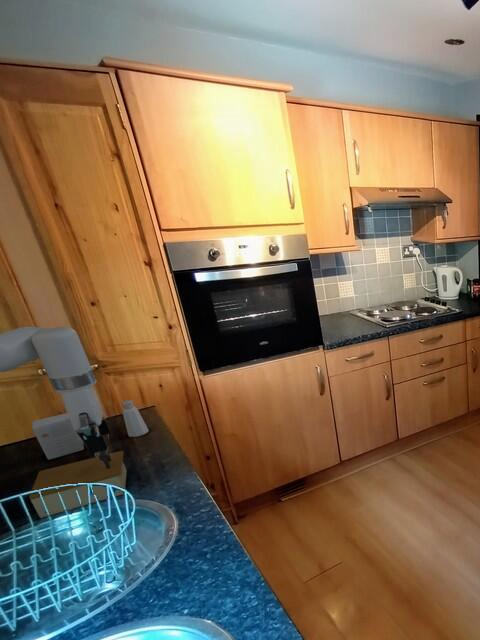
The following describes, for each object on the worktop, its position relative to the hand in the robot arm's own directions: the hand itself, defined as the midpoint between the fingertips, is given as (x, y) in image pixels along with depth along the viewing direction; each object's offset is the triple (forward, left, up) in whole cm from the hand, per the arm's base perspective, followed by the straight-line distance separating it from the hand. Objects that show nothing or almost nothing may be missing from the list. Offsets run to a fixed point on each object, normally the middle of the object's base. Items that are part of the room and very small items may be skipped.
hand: (101, 442), depth 113 cm
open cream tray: (-6, 0, -13) cm, 14 cm away
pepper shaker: (+4, +30, -13) cm, 33 cm away
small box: (-13, +29, -13) cm, 34 cm away
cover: (-6, 0, -7) cm, 9 cm away
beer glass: (-4, +20, -13) cm, 24 cm away
